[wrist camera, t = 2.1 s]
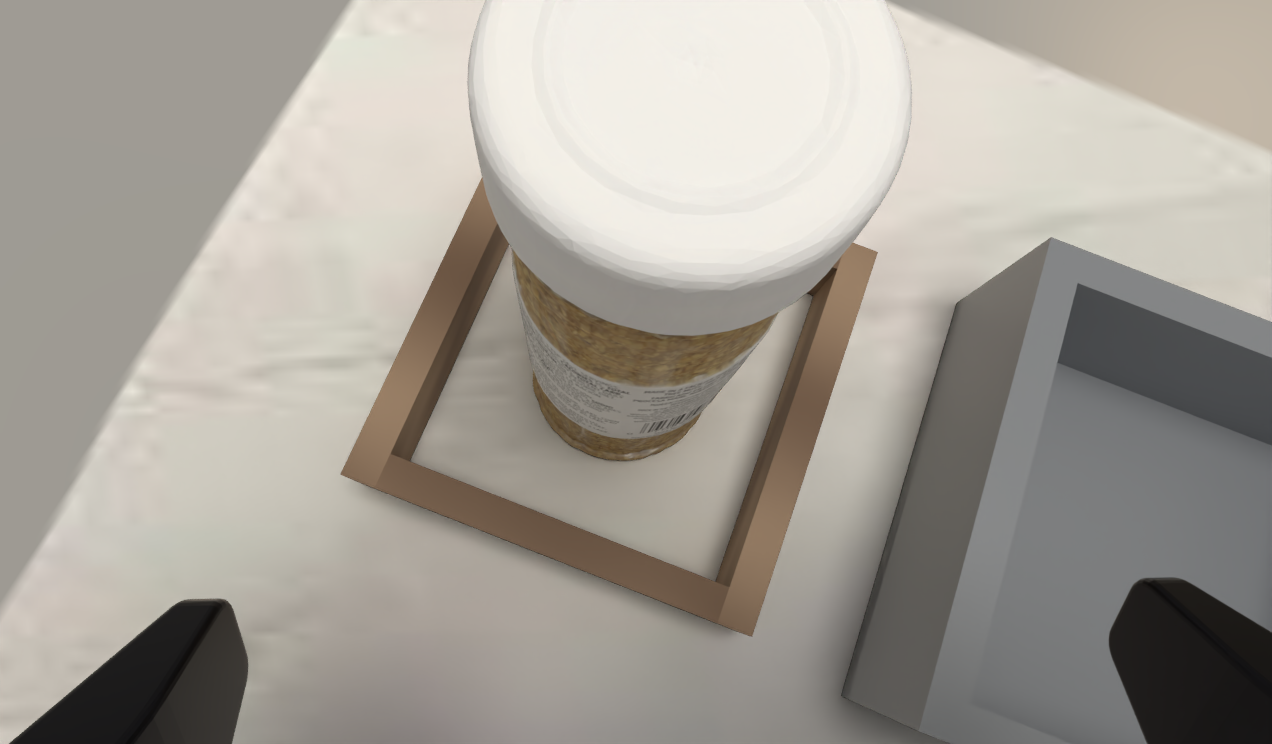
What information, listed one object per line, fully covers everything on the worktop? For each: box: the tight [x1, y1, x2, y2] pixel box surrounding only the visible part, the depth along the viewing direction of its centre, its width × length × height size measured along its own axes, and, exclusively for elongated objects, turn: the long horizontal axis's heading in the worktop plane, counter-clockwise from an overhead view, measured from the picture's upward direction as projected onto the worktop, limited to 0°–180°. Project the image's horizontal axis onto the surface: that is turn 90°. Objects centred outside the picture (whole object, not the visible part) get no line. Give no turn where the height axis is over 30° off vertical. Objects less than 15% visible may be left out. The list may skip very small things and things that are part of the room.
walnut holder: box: [341, 178, 878, 637], centre depth 20 cm, size 10×10×2 cm
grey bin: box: [841, 237, 1272, 744], centre depth 19 cm, size 11×11×4 cm
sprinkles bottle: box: [468, 0, 912, 461], centre depth 14 cm, size 5×5×13 cm
